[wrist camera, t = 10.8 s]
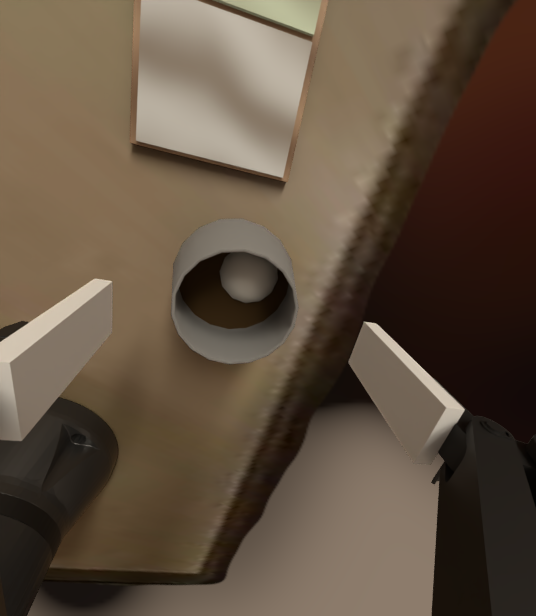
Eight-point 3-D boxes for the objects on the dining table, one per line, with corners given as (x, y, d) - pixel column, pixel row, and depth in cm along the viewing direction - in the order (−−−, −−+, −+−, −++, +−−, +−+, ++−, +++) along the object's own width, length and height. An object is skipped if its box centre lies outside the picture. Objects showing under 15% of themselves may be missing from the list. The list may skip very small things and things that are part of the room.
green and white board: (285, 182, 23) (288, 182, 22) (133, 144, 21) (128, 142, 20) (356, -139, 17) (365, -159, 16) (146, -247, 14) (140, -280, 13)
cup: (264, 196, 24) (285, 203, 15) (297, 292, 27) (330, 344, 18) (161, 238, 24) (119, 270, 15) (208, 327, 28) (198, 395, 19)
